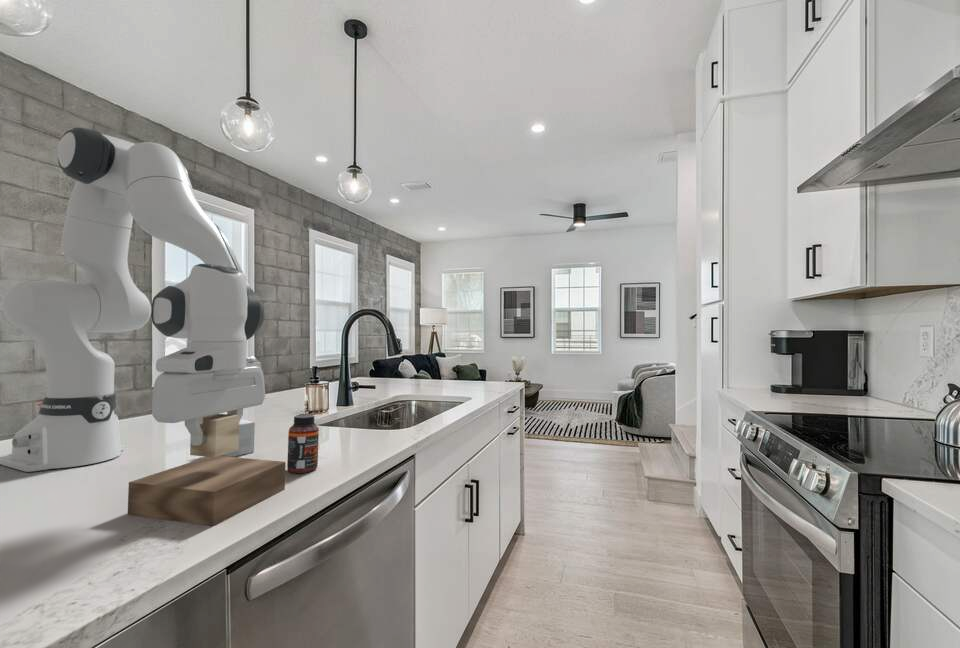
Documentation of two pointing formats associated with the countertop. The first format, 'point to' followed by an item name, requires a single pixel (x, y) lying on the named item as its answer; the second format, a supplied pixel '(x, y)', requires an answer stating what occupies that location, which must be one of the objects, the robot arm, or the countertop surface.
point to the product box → (244, 438)
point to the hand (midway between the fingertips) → (214, 439)
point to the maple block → (218, 436)
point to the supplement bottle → (303, 444)
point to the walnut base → (206, 489)
